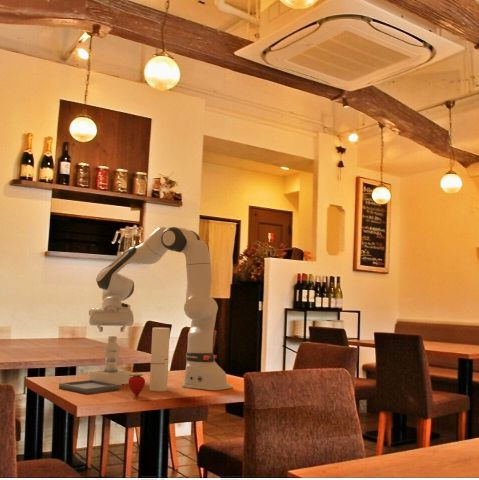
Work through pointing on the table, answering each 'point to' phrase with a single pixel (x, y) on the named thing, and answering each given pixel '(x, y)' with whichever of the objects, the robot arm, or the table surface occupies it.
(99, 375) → the collar holder
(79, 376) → the table surface
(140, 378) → the strawberry
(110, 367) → the plastic bottle
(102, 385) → the grey tray
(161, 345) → the white toy refrigerator
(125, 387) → the table surface
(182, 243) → the robot arm
